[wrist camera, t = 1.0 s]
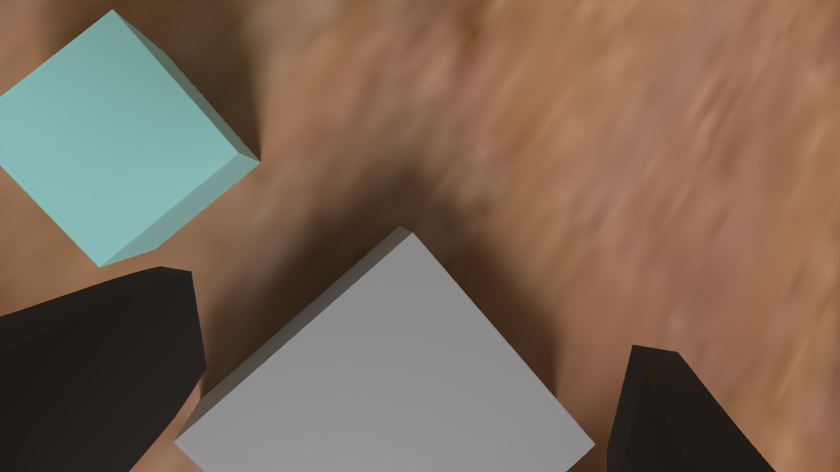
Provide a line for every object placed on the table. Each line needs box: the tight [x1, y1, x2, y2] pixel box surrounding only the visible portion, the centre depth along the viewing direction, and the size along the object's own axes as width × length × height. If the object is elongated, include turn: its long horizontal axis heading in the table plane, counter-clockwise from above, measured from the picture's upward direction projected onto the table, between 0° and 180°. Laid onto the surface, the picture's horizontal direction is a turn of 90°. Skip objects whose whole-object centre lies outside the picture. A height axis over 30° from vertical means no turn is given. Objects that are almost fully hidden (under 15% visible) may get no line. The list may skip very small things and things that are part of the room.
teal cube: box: [0, 9, 261, 267], centre depth 18 cm, size 5×5×5 cm
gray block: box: [174, 226, 595, 472], centre depth 21 cm, size 10×10×4 cm
